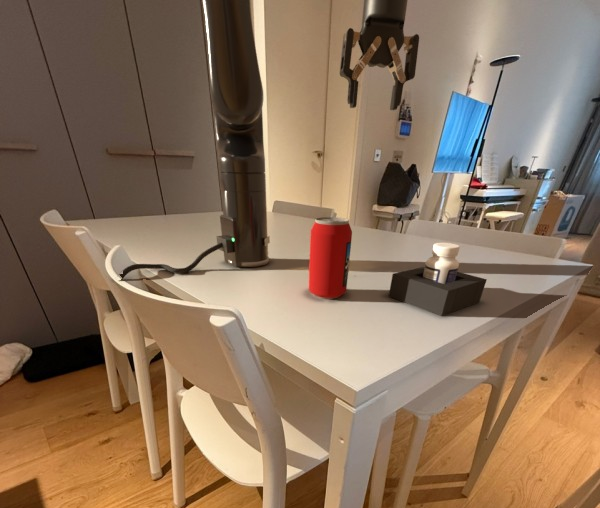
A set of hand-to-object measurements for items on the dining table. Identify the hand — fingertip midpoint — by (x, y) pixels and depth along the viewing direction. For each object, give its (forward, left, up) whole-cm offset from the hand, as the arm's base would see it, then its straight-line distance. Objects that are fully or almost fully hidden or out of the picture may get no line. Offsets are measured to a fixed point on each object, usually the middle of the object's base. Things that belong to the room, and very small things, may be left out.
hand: (373, 108), depth 67 cm
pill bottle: (-10, -29, -28) cm, 42 cm away
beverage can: (-24, -17, -28) cm, 41 cm away
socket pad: (-10, -30, -28) cm, 42 cm away
